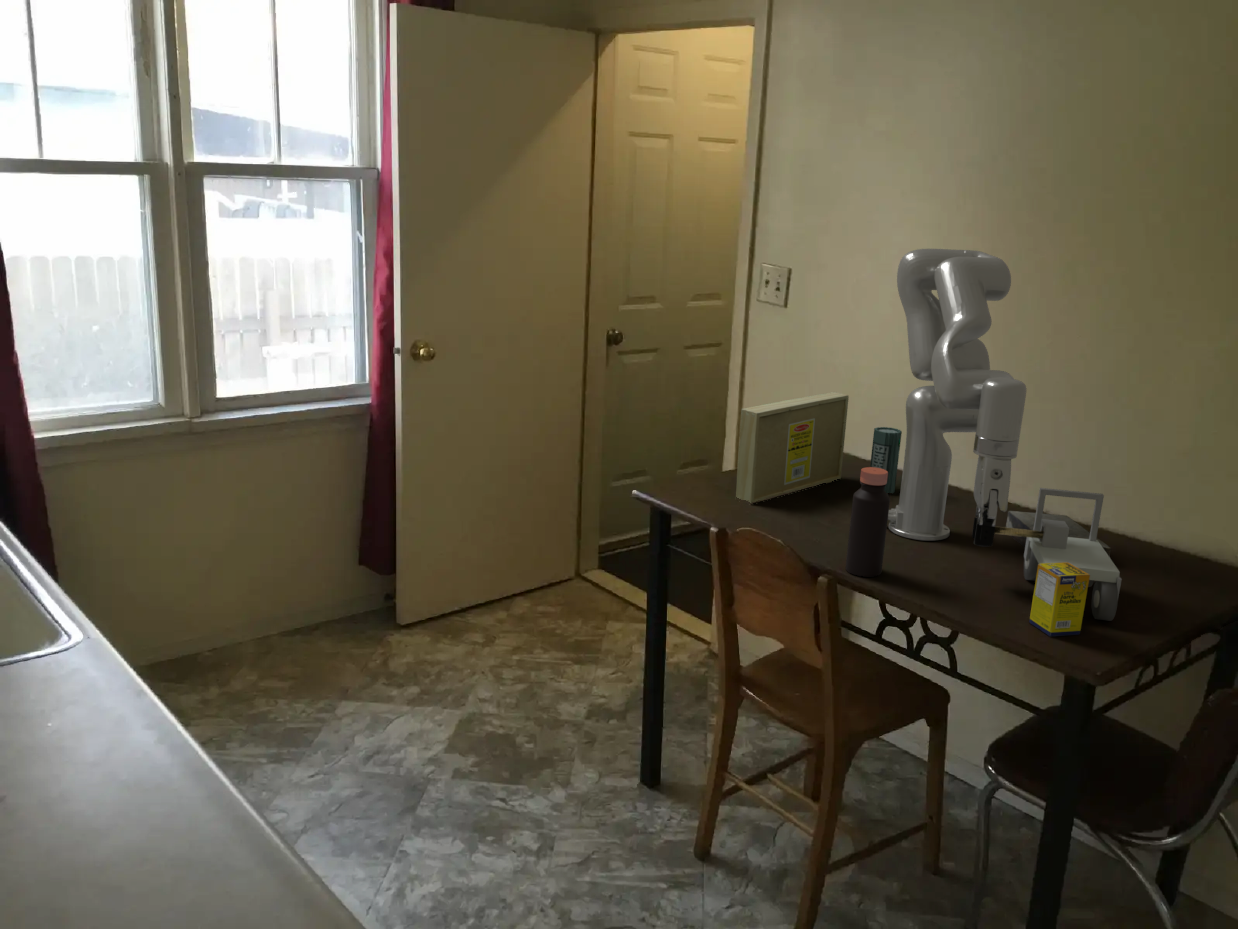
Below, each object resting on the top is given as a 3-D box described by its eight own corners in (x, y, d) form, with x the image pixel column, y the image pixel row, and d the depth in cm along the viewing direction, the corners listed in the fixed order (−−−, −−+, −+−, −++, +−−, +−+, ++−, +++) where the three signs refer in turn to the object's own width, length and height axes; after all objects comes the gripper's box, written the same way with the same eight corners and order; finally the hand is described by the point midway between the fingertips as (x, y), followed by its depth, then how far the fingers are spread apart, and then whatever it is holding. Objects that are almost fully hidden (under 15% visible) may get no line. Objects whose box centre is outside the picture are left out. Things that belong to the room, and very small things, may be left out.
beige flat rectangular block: (825, 476, 263) (834, 391, 257) (841, 480, 259) (850, 394, 253) (734, 500, 239) (741, 408, 234) (749, 505, 236) (757, 412, 230)
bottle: (878, 580, 195) (890, 477, 189) (841, 573, 197) (852, 472, 192) (884, 568, 201) (896, 468, 196) (848, 562, 203) (859, 463, 198)
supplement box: (1080, 635, 175) (1091, 574, 172) (1049, 637, 173) (1059, 576, 170) (1058, 620, 180) (1068, 561, 177) (1027, 622, 179) (1037, 562, 176)
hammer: (974, 545, 193) (979, 515, 191) (973, 540, 196) (977, 510, 194) (1045, 553, 191) (1050, 522, 189) (1042, 548, 193) (1047, 517, 192)
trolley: (1039, 618, 181) (1055, 520, 176) (1018, 571, 203) (1032, 482, 198) (1116, 627, 178) (1135, 528, 174) (1087, 579, 200) (1103, 489, 195)
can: (898, 490, 252) (905, 430, 248) (886, 495, 248) (893, 434, 244) (875, 485, 256) (882, 425, 252) (863, 490, 252) (870, 429, 248)
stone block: (1043, 565, 208) (1047, 541, 206) (1003, 532, 226) (1006, 510, 225) (1109, 567, 208) (1114, 543, 207) (1064, 534, 227) (1068, 512, 226)
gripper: (1025, 459, 181) (1009, 559, 186) (1010, 437, 196) (996, 530, 201) (980, 455, 182) (966, 554, 187) (968, 434, 197) (956, 526, 202)
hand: (982, 541), depth 194 cm, fingers closed on hammer, 2 cm apart
